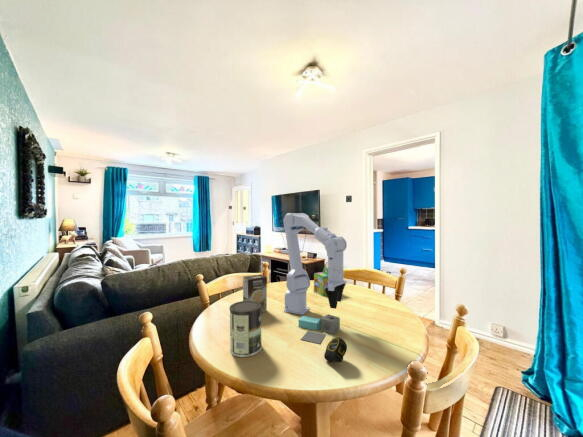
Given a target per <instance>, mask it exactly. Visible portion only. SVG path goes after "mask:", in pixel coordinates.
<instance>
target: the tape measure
mask: <svg viewBox="0 0 583 437" xmlns="http://www.w3.org/2000/svg"><path fill="white" fill-rule="evenodd" d="M347 350H348V344H347V343H346V341H345V340H344V339H343V338H342V337H339V336H334V337H333V338H331V340H330V341H329V342H328V343H327V345H326V348H325V351H324V355H323V356H324V357H323V358H324V359H325V361H328V362H337V363H342V362H343V361H344V356H345V355H346V353H347Z"/></svg>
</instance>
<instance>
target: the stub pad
mask: <svg viewBox="0 0 583 437" xmlns="http://www.w3.org/2000/svg"><path fill="white" fill-rule="evenodd" d="M326 336H327V334H326V333H322V332H321V333H320V332H318V331H317V332H316V331H313V330H307V331H306V332H305V334H304V335H303V336H302V337H301V338H300V340H301V341H304V342H308V343H312V344H317V345H321V343H322V342H323V340H324V339H325V338H326Z"/></svg>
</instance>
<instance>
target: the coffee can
mask: <svg viewBox="0 0 583 437" xmlns="http://www.w3.org/2000/svg"><path fill="white" fill-rule="evenodd" d="M228 308H229V324H230V325H229V329H230V330H229V331H230V332H229V336H230V338H229V339H230V342H229V344H230V345H229V346H230V347H229V348H230V349H229V351H230V353H231V355H232V356H234V357H237V358H249V357H252V356H255V355H257V354H258V353H260V352H261V351H262V345H263V344H262V312H261V303H259V302H256V301H243V300H241V301H236V302H234V303H232V304H230V305H229V307H228Z"/></svg>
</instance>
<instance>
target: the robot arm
mask: <svg viewBox="0 0 583 437" xmlns="http://www.w3.org/2000/svg"><path fill="white" fill-rule="evenodd" d="M283 228H284V232H285V239H286V247H287V251H288V252H287V253H288V260H289V265H290V270H289V271H288V273H287V274H286V283H285V284H286V288H287V290H286V291H285V293H284V310H283V312H285V313H290V314H295V315H296V314H297V315H302V316H305V314H306V313H307V312H308V311H309V310H310V307H307V291H308V288H310V286H311V280H310V277H309V274H308V271H306V270H305V269H304V268H303V263H302V256H301V250H300V244H299V237H298V235H299V233H300V232H301V231H302V230H303V229H304V228H305V229H306V230H308V231H309V232H311V233H312V234H313V235H314V239H315V240H317V241H318V242H320V243H321V244H322V245H323V246H324V248H325V250H326V256H327V263H328V264H327V268H328V288H325V293H326V294H327V296H326V297H327V299H328V303H329V304H328V305H329V307H330V309H337V307H338V302H342V298H343V293H344V289H345V287H346V285H347V280H344V251H346V249H347V241H346V239H345V238H344V237H343V236H337V234H336V233H333V232H331V231H330V230H328V227H327V226H319V225H318V224H317V223H315V221H313V220H312V219H311V218H310V217H309V215H308V214H306V213H304V212H301V213H299V212H298V213H297V212H296V213H293V212H288V213H286V214H285V216H284V218H283Z"/></svg>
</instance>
